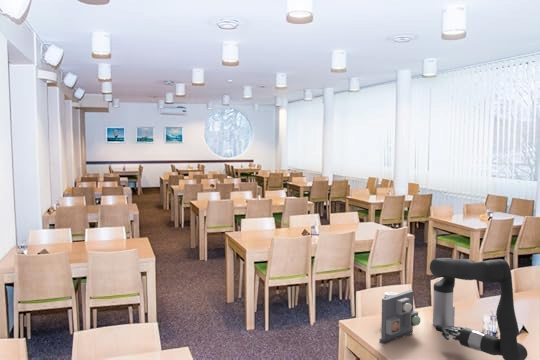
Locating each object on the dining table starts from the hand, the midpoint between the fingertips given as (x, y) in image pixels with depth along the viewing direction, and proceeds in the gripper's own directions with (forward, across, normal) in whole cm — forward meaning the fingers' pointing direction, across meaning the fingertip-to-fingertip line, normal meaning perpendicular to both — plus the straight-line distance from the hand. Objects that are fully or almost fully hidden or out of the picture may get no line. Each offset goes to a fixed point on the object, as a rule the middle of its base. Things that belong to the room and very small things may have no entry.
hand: (436, 327), depth 213 cm
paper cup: (+31, -9, +8) cm, 33 cm away
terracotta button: (+13, +14, +2) cm, 19 cm away
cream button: (+11, +7, -6) cm, 14 cm away
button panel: (+15, +7, +8) cm, 18 cm away
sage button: (+11, 0, +2) cm, 11 cm away
